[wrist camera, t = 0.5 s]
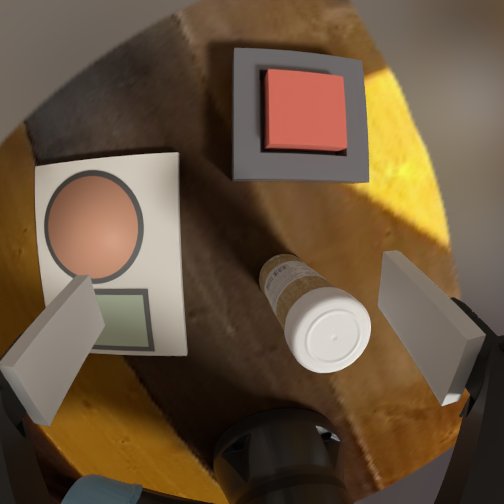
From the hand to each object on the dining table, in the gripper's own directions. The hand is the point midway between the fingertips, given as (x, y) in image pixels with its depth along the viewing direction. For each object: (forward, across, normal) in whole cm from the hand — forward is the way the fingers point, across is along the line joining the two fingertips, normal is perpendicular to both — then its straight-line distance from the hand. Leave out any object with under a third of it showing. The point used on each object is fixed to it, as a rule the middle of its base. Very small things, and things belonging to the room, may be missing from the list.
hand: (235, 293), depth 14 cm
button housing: (+17, -6, -7) cm, 19 cm away
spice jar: (+14, -3, +6) cm, 16 cm away
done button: (+15, -6, -8) cm, 18 cm away
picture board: (+13, +12, +3) cm, 18 cm away
